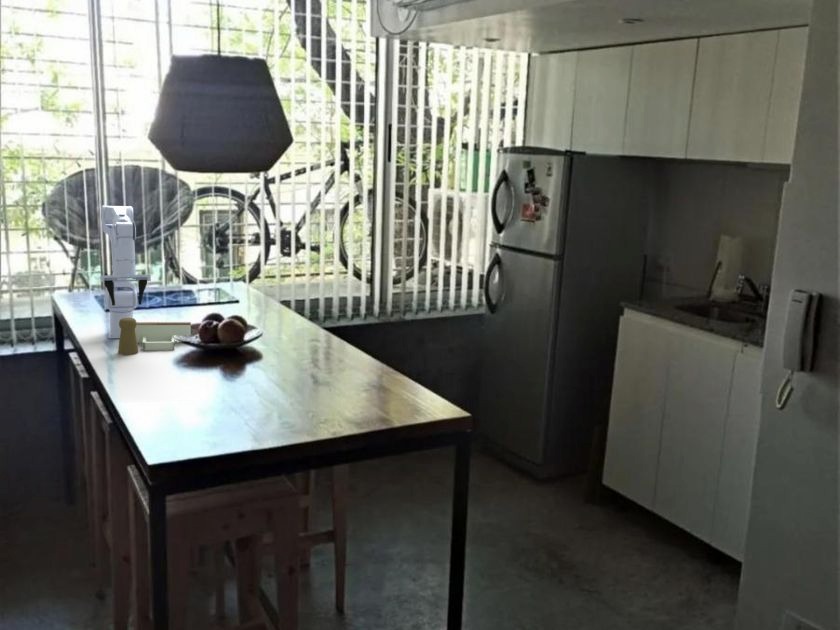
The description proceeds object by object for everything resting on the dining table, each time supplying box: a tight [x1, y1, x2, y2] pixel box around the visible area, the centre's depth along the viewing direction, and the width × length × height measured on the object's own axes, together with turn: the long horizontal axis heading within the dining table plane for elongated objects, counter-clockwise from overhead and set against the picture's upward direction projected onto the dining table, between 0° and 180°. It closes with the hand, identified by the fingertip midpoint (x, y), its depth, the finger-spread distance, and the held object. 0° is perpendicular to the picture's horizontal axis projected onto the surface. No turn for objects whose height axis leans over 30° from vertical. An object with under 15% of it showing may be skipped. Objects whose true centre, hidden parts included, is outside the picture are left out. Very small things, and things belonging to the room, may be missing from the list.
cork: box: [117, 317, 139, 356], centre depth 255 cm, size 6×6×11 cm
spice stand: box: [135, 321, 192, 351], centre depth 265 cm, size 10×20×7 cm, turn 106°
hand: (126, 305), depth 253 cm, fingers open, 7 cm apart
